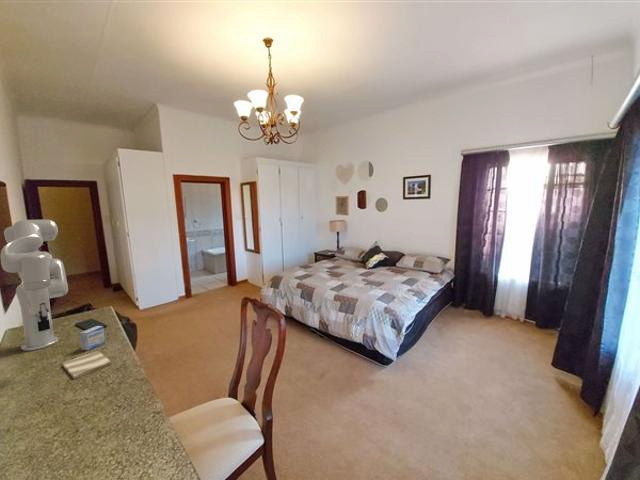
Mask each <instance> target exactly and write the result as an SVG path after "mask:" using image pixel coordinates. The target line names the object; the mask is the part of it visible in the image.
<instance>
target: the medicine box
mask: <svg viewBox="0 0 640 480" xmlns="http://www.w3.org/2000/svg"><path fill="white" fill-rule="evenodd" d="M104 329H105V328H104ZM104 329H103V326H95V327H93V328H90V329H88V330H82V331H81V332H79V340H80V341H79V342H80V349H81V351H91V350H93V349H95V348H97V347H100V346H101V345H104V344H105V341H106V340H105V331H104Z"/></svg>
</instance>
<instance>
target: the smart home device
mask: <svg viewBox="0 0 640 480" xmlns="http://www.w3.org/2000/svg"><path fill="white" fill-rule="evenodd" d="M75 326H76V327H77V328H79V329H81V330H83V331H85V330H88V329H90V328H93V327H95V326H103V328H104V329H107V328H108V325H107V324H105V323H103V322H101V321H99V320H97V319H95V318H89V319H88V318H87V319H86V320H81V321H79V322H75ZM106 327H107V328H106Z"/></svg>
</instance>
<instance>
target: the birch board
mask: <svg viewBox="0 0 640 480" xmlns="http://www.w3.org/2000/svg"><path fill="white" fill-rule="evenodd" d="M111 365H112V361H111V360H110V359H109V358H107V357H106V356H105V355H104V354H103V353H102V352H100V351H99V350H96V351H93V352H91V353H87V354H85V355H82V356H78V357H76V358H73V359H71V360H67V361H64V362H62V367H63V368H64V369H65V371H67V372H68V374H69V375H70V376H71V377H72V379H75V380H76V379H77V378H80V377H82V376H85V375H88V374H90V373H93V372H96V371H98V370H100V369H104V368H106V367H108V366H111Z"/></svg>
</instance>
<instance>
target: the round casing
mask: <svg viewBox="0 0 640 480" xmlns="http://www.w3.org/2000/svg"><path fill="white" fill-rule="evenodd" d="M39 314H41V312H39ZM41 316H42V315H40V317H41ZM48 318H49V324H50V316H49V312H48ZM33 321H34V329H35V333H41V332H46V331H48V330H50V329H51V324H50V329H48V330H44V331H38V323H37V322H39V321H38V316H37V314H36V315H35V316H34V315H33Z"/></svg>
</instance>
